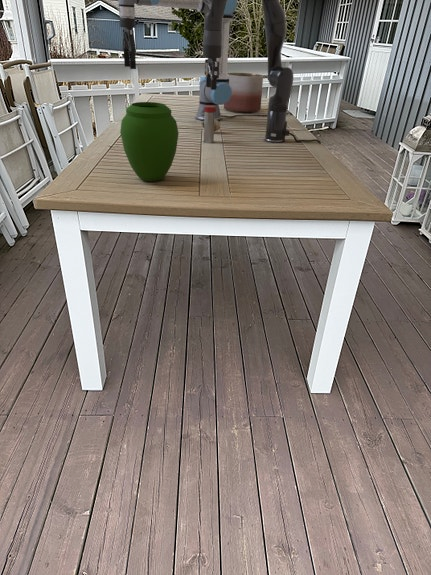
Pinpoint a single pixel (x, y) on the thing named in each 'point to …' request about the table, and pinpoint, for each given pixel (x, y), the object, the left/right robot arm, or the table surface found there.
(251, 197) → the table surface
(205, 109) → the lid
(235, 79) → the planter
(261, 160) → the table surface
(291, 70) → the right robot arm
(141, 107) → the vase
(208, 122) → the jar
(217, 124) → the seashell
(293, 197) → the table surface
